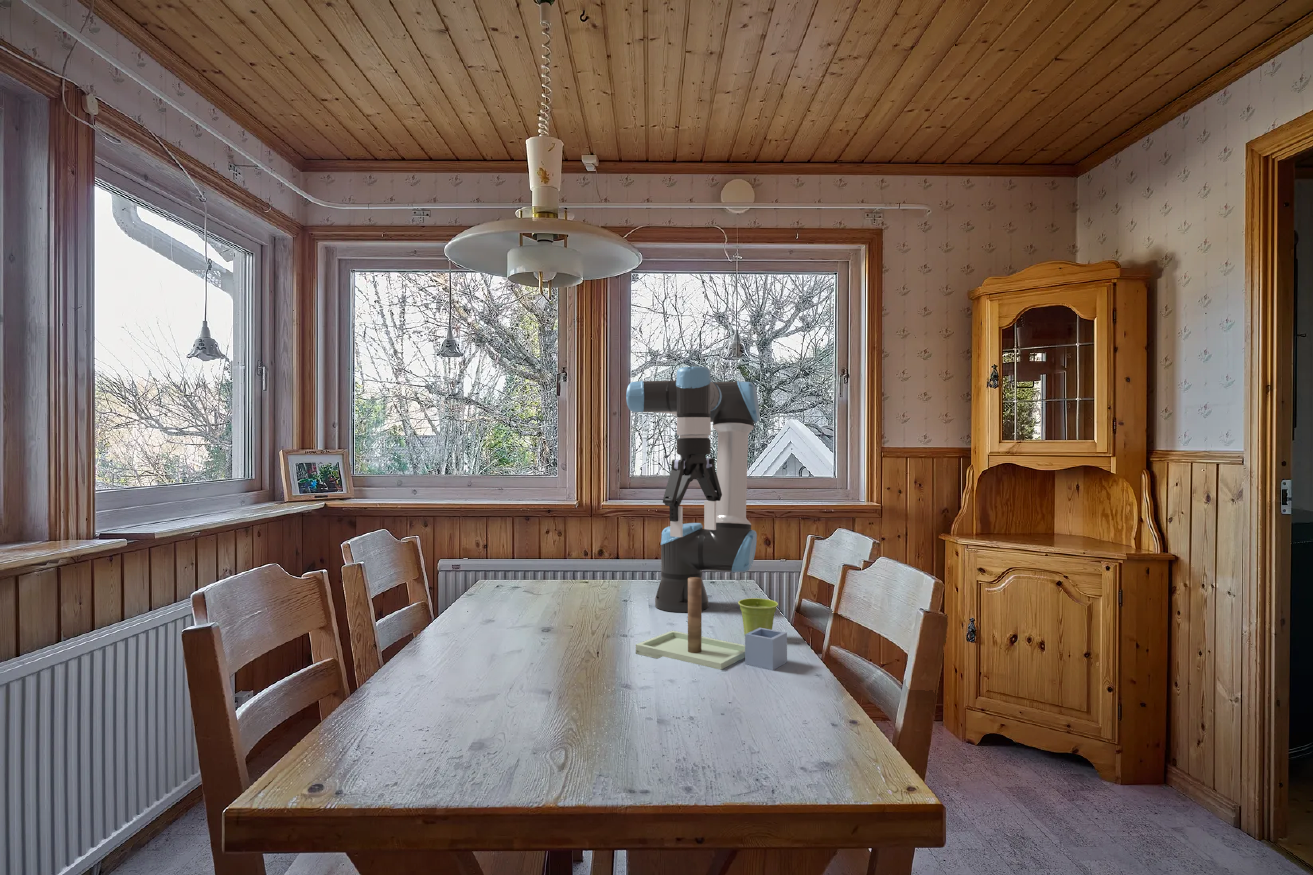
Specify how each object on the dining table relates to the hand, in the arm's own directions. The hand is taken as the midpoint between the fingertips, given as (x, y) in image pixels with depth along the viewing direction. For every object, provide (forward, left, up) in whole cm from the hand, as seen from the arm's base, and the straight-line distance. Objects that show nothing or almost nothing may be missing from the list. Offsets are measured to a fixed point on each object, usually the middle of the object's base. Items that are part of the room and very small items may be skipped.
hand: (693, 533), depth 154 cm
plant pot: (-18, +6, -27) cm, 33 cm away
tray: (+1, +1, -27) cm, 27 cm away
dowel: (+1, +1, -26) cm, 26 cm away
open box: (-1, +17, -27) cm, 32 cm away
